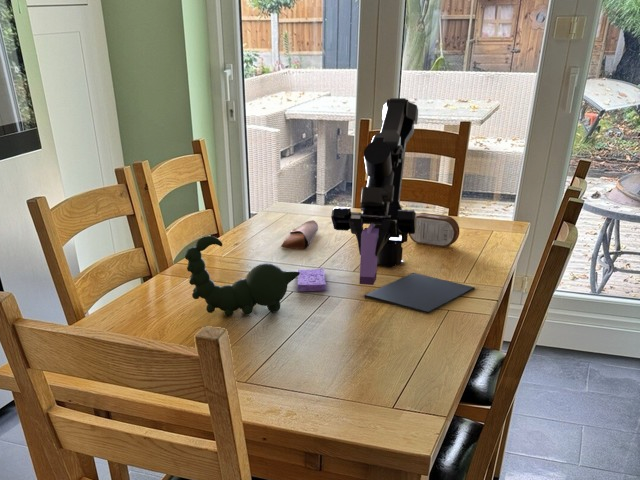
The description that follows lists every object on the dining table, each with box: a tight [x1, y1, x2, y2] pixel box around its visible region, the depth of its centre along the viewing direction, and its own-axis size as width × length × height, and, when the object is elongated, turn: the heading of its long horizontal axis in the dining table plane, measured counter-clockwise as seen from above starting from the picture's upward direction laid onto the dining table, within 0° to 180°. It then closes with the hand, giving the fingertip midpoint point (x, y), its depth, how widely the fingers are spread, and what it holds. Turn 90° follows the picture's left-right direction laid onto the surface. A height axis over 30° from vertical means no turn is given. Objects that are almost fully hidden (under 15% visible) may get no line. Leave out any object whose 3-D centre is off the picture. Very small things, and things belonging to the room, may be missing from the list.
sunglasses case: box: [280, 220, 319, 251], centre depth 213 cm, size 18×7×7 cm
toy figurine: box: [184, 235, 300, 318], centre depth 162 cm, size 9×19×25 cm
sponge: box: [297, 268, 327, 292], centre depth 182 cm, size 7×13×2 cm, turn 179°
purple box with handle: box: [358, 223, 379, 286], centre depth 161 cm, size 5×3×12 cm
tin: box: [408, 212, 460, 248], centre depth 205 cm, size 15×3×8 cm, turn 58°
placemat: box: [364, 272, 475, 315], centre depth 174 cm, size 18×21×1 cm
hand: (368, 254), depth 160 cm, fingers closed on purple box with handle, 3 cm apart
